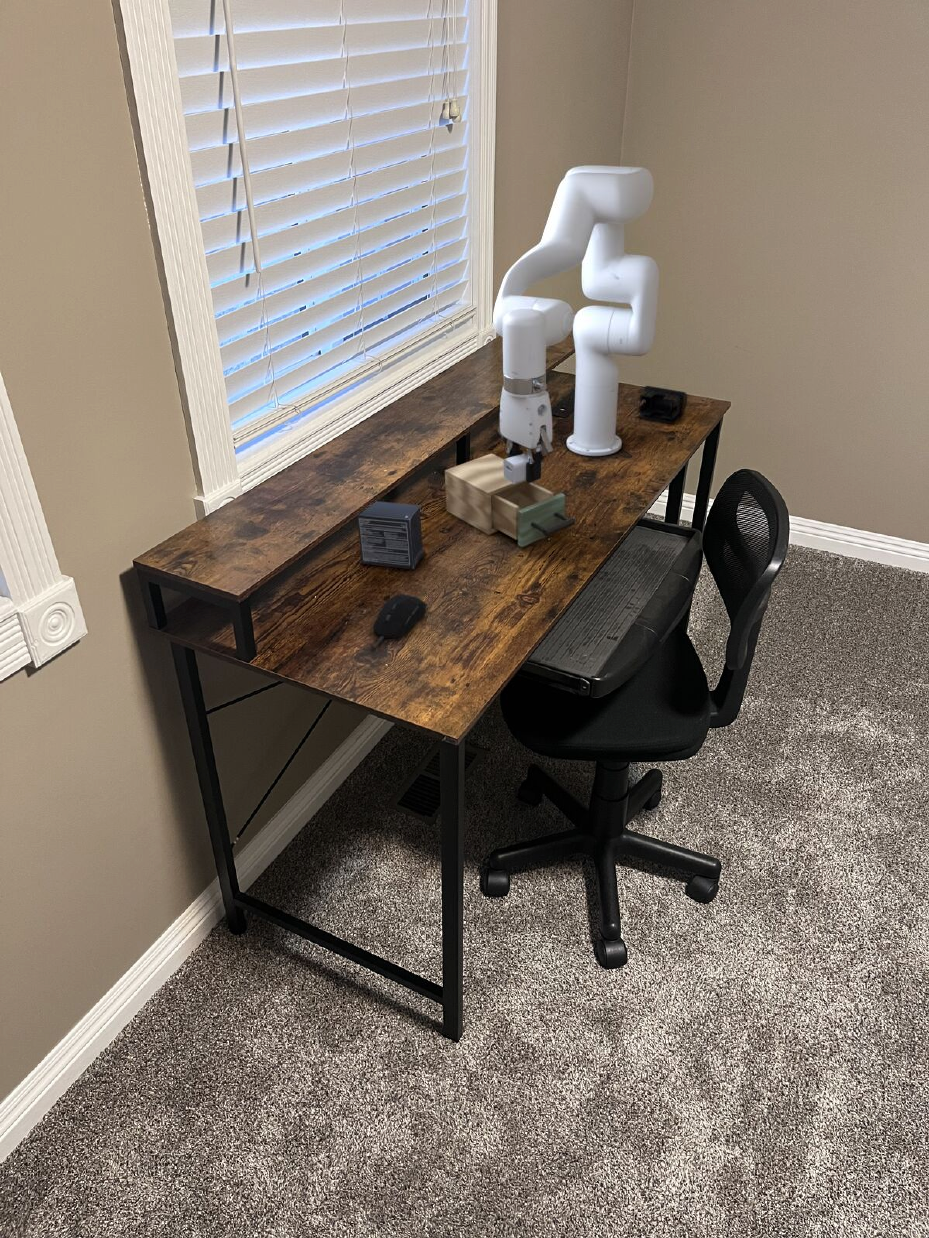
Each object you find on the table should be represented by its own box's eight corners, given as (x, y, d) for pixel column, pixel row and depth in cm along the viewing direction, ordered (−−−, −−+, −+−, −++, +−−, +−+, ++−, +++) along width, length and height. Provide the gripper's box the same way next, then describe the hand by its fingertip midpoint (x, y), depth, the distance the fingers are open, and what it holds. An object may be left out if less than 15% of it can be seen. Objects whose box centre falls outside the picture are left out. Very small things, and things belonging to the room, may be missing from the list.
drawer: (582, 538, 176) (583, 503, 172) (539, 557, 171) (539, 522, 167) (521, 507, 188) (521, 474, 184) (480, 523, 182) (479, 490, 178)
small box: (425, 553, 175) (421, 503, 169) (414, 570, 170) (410, 520, 164) (372, 547, 178) (367, 498, 172) (360, 564, 172) (354, 514, 167)
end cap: (685, 415, 227) (688, 388, 223) (674, 425, 222) (677, 398, 219) (648, 408, 232) (650, 382, 228) (636, 417, 227) (638, 391, 223)
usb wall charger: (503, 477, 175) (503, 457, 172) (534, 468, 177) (534, 449, 175) (514, 485, 172) (514, 465, 169) (545, 476, 174) (546, 456, 172)
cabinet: (535, 515, 186) (535, 474, 181) (488, 535, 180) (487, 492, 175) (492, 493, 195) (491, 453, 190) (446, 511, 189) (444, 470, 184)
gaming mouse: (357, 645, 151) (354, 624, 149) (400, 599, 162) (398, 580, 160) (391, 653, 149) (389, 633, 146) (432, 606, 160) (430, 587, 157)
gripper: (572, 389, 160) (569, 484, 171) (509, 365, 172) (510, 456, 182) (540, 400, 157) (539, 497, 167) (478, 375, 168) (481, 467, 178)
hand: (524, 475), depth 174 cm, fingers closed on usb wall charger, 4 cm apart
